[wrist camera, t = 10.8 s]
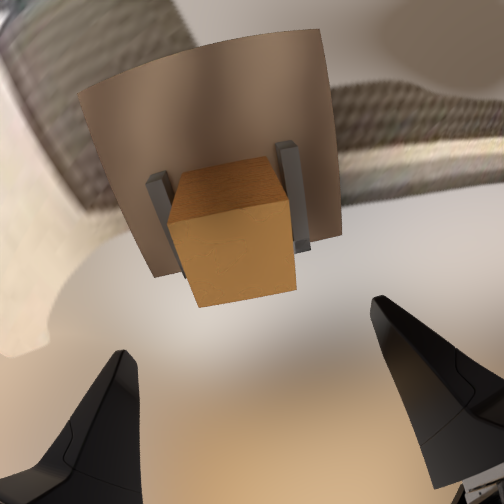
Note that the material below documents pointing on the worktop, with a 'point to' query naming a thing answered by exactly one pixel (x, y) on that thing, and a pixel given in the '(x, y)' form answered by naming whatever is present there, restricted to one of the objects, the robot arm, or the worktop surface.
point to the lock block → (233, 232)
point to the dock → (219, 132)
